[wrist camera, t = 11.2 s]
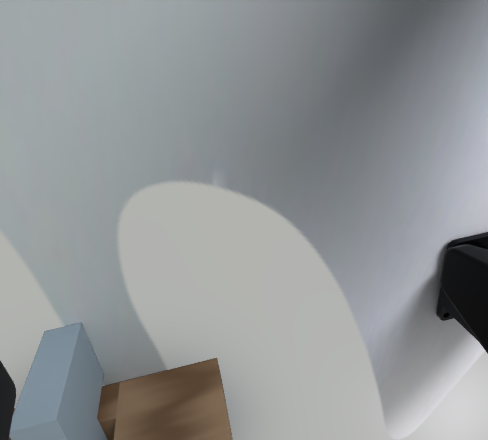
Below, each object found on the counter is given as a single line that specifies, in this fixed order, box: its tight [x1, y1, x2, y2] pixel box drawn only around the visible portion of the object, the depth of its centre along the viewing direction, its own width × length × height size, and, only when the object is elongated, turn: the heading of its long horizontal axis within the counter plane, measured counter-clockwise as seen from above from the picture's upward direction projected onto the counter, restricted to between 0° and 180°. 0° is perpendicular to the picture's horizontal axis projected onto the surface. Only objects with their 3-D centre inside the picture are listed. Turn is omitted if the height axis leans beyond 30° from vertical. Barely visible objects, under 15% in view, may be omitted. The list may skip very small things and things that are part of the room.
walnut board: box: [9, 358, 232, 440], centre depth 22 cm, size 16×2×5 cm, turn 97°
